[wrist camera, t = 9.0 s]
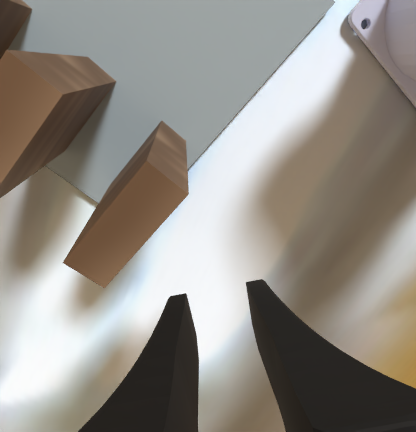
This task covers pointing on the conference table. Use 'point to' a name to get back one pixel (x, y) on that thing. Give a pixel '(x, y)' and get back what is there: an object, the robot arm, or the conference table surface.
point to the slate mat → (163, 69)
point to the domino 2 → (133, 207)
